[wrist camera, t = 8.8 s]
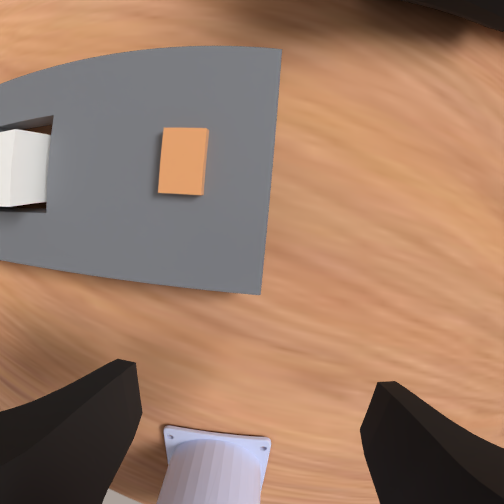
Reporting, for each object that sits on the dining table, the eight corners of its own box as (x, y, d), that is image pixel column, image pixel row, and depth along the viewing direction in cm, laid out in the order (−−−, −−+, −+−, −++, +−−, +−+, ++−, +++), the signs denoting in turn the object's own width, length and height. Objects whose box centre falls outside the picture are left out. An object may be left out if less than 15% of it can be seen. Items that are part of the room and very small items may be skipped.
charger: (62, 200, 17) (4, 207, 11) (22, 199, 17) (-33, 206, 11) (66, 138, 16) (10, 128, 10) (26, 142, 16) (-28, 137, 11)
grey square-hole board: (260, 279, 17) (260, 299, 14) (-14, 246, 17) (-40, 254, 14) (279, 67, 15) (282, 43, 12) (-6, 99, 15) (-31, 93, 12)
